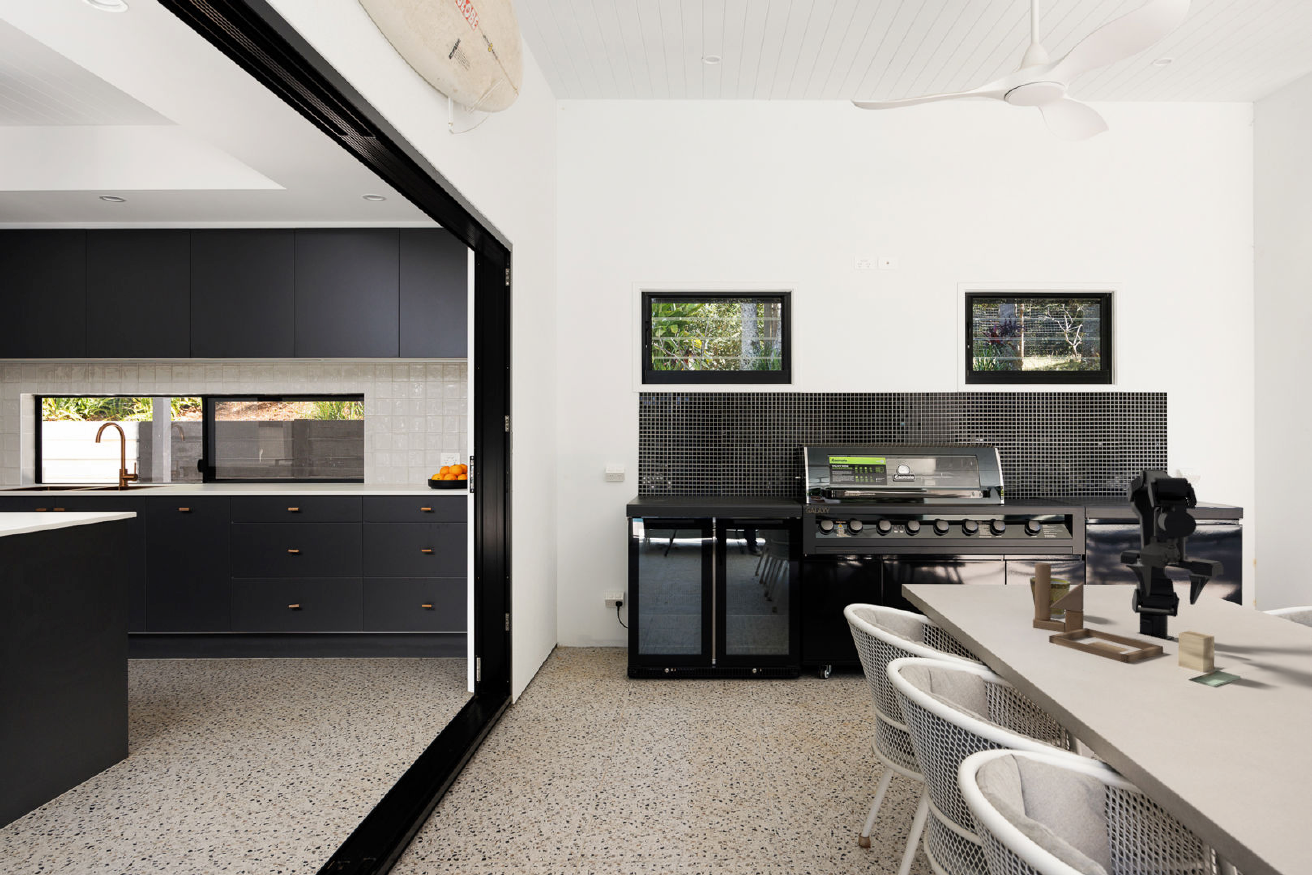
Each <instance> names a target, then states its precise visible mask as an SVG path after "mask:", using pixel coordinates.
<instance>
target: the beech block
mask: <svg viewBox="0 0 1312 875" xmlns="http://www.w3.org/2000/svg"><path fill="white" fill-rule="evenodd" d="M1178 667H1182V668H1185V669H1189V670H1194V671H1196V672H1197V671H1198V672H1200V673H1205V672H1208V673H1205V674H1201V675H1199V676H1200V677H1206V676H1209V675H1212V674H1214V671H1212V670H1215V636H1214V635H1211V634H1208V633H1207V634H1206V633H1204V632H1203V633H1201V632H1197V631H1192V630H1187V631H1183V632H1182V631H1181V632H1179V633H1178ZM1209 671H1211V672H1209Z"/></svg>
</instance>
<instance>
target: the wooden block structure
mask: <svg viewBox="0 0 1312 875" xmlns="http://www.w3.org/2000/svg"><path fill="white" fill-rule="evenodd" d="M1034 577H1035V606H1034V618H1033V619H1032V628H1033V629H1038V630H1045V631H1052V632H1057V633H1058V632H1059V633H1065V632H1070V631H1075V630H1080V629H1084V615H1085V614H1084V590H1085V589H1084V584H1085V583H1084V581H1081V582H1080V583H1079V584H1078V585H1076V586H1075V587H1073V588H1072V589H1071V590H1069V592H1068V593H1067V594H1065V595H1064V596H1063V597H1061V598H1060V599H1059V600H1057V601H1056V602H1055V603H1053V604H1052V605H1051V577H1052V564H1051V563H1049V562H1042V561H1041V562H1040V561H1038V562H1035V563H1034ZM1051 608H1055V609H1062V610H1065V612H1064V619H1065V621H1062V620H1059V619H1055V618H1051Z"/></svg>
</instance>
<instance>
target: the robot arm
mask: <svg viewBox="0 0 1312 875" xmlns="http://www.w3.org/2000/svg"><path fill="white" fill-rule="evenodd" d="M1127 500H1128V503H1130V505H1131V511H1132V512H1133V513H1134V515H1135V516H1136V517H1137V518H1138V520H1139V529H1140V530H1139V531H1140V543H1141V544H1140V546H1141V549H1140V550H1136V549H1129V550H1123V551H1121V553H1120V554H1119V563H1120V564H1125V567H1126V568H1128V569H1130V570H1131V571H1132V572H1133V573H1134V574H1135V576H1136V578H1137V579H1138V581H1137V583H1136V586H1135V587H1136V588H1134V591H1133V595H1132V600H1131V606H1132V607H1131V609H1132V611H1133V612H1134V613H1135V614H1139V632H1137V634H1139V635H1143V636H1148V637H1151V638H1156V639H1160V640H1164V641H1170V640H1174V639H1175V636H1174V635H1173V636H1172V635H1168V631H1169V630H1168V629H1169V628H1168V627H1169V624H1168V623H1169V622H1168V621H1169V618H1168V617H1173V618H1174V617H1175V618H1176V617H1177V616H1178V613H1179V612H1178V611H1179V606H1180V599H1181V598H1180V597H1178V594H1177V592H1176V591H1175V588H1174V582H1173V580H1172V579H1171V578H1170V577H1168V576H1167V575H1166V573H1165V568H1166V567H1170V568H1176V569H1177V568H1178V569H1184V570H1189V571H1190V572H1191V573H1192V574H1188V578H1189V581H1190V589H1189V604H1190V605H1192V606H1195V604H1196V602H1197V601H1198V599H1199V597H1200V595H1201V593H1202V592H1203V589H1204V588H1205V586H1207V584H1208V582H1209V581H1210V580H1211V579H1214V578H1217V576H1222V575H1224V566H1223V564H1222V563H1221V561H1220V560H1219V561H1217V560H1210V559H1203V558H1201V559H1195V560H1194V559H1193V560H1188V558H1189V555H1188V554H1186V543H1187V542H1189V536H1191V535H1193V533H1195V531H1196V529H1197V522H1196V519H1195V517H1194V516H1193V515H1191V514H1190V513H1189V512H1188V509H1189V510H1190V509H1191V510H1196V506H1197V503H1198V501H1197V500H1198V499H1197V496H1196V491H1195V488H1194V487H1193V486H1192V483H1191V482H1189V480H1188V479H1187V478H1186V477H1172V476H1171V475H1169V474H1168V473H1167V472H1166V470H1163V469H1159V468H1158V469H1157V468H1155V469H1153V468H1152V469H1151V468H1144V469H1141V470H1140V474H1139V475H1138V476H1136V477H1135V478H1133V479H1132V480H1131V481H1130V482H1129V486H1128V491H1127Z"/></svg>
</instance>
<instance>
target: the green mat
mask: <svg viewBox="0 0 1312 875" xmlns="http://www.w3.org/2000/svg"><path fill="white" fill-rule="evenodd" d="M1213 672H1214V674H1212V675H1209V676H1206V677H1200V676H1201V675H1198V676H1196V677H1191V678H1189V679H1187V680H1188V681H1191V682H1194V683H1198V684H1202V685H1206V686H1209V685H1210V686H1209V687H1213V686H1214V687H1213V688H1215V686H1216V687H1218V685H1219V686H1221V685H1220V684H1222V685H1224V684H1228V683H1230V682H1234V681H1237V680H1239V679H1241V676H1240V675H1237V674H1232V673H1228V672H1225V671H1221V670H1215V671H1213ZM1233 680H1234V681H1233Z"/></svg>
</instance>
